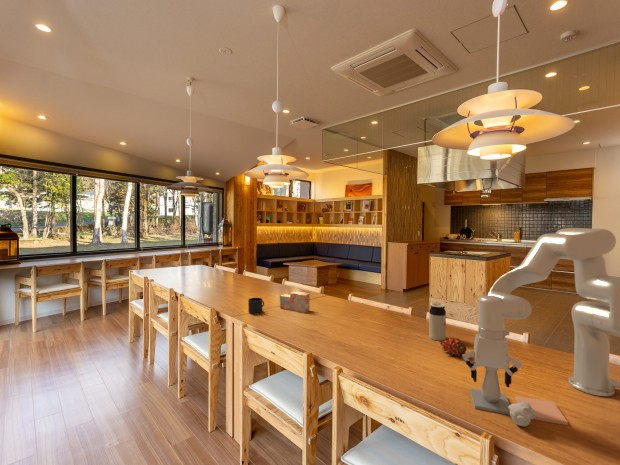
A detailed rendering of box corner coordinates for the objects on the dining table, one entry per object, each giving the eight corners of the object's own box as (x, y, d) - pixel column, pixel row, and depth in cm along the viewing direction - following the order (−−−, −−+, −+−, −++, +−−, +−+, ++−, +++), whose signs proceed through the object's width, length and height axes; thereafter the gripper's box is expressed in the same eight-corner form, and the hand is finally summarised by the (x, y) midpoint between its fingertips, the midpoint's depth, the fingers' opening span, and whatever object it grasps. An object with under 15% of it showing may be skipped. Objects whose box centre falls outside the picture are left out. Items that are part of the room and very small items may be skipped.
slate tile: (505, 396, 107) (505, 394, 107) (513, 415, 97) (513, 412, 97) (469, 391, 111) (469, 388, 111) (474, 408, 101) (474, 405, 101)
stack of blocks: (279, 308, 220) (279, 291, 220) (285, 306, 226) (284, 289, 225) (305, 312, 209) (304, 295, 209) (309, 310, 215) (309, 293, 214)
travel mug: (426, 338, 162) (427, 304, 161) (432, 334, 167) (432, 301, 167) (442, 342, 156) (442, 307, 156) (447, 338, 162) (448, 304, 161)
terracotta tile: (553, 404, 103) (553, 401, 103) (567, 425, 92) (567, 422, 92) (514, 398, 106) (515, 395, 106) (524, 417, 96) (524, 414, 96)
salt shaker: (482, 392, 108) (483, 356, 108) (501, 398, 105) (502, 361, 104) (479, 400, 104) (480, 362, 103) (499, 406, 100) (499, 367, 100)
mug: (268, 311, 213) (268, 298, 213) (253, 315, 205) (253, 301, 204) (260, 308, 220) (260, 296, 219) (245, 312, 211) (245, 299, 211)
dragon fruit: (467, 363, 136) (441, 358, 145) (472, 347, 141) (447, 343, 150) (460, 350, 134) (434, 346, 143) (465, 335, 138) (440, 332, 148)
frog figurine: (534, 435, 88) (535, 412, 88) (506, 425, 93) (506, 402, 92) (536, 425, 93) (537, 402, 92) (509, 415, 97) (510, 393, 97)
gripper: (517, 332, 104) (517, 381, 105) (461, 326, 110) (461, 373, 111) (524, 340, 97) (524, 393, 97) (464, 333, 103) (463, 383, 103)
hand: (490, 382), depth 104 cm, fingers open, 9 cm apart
